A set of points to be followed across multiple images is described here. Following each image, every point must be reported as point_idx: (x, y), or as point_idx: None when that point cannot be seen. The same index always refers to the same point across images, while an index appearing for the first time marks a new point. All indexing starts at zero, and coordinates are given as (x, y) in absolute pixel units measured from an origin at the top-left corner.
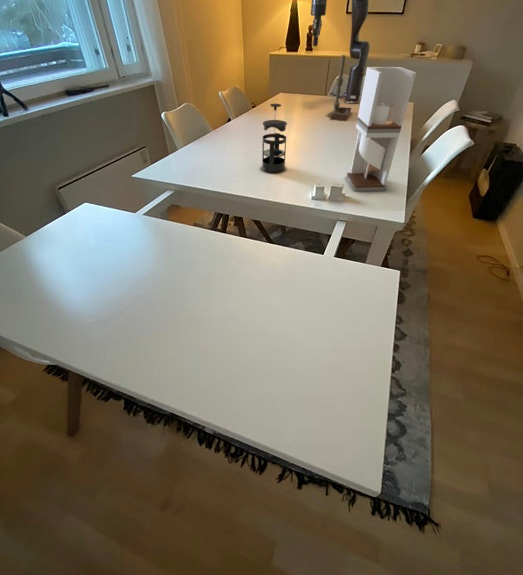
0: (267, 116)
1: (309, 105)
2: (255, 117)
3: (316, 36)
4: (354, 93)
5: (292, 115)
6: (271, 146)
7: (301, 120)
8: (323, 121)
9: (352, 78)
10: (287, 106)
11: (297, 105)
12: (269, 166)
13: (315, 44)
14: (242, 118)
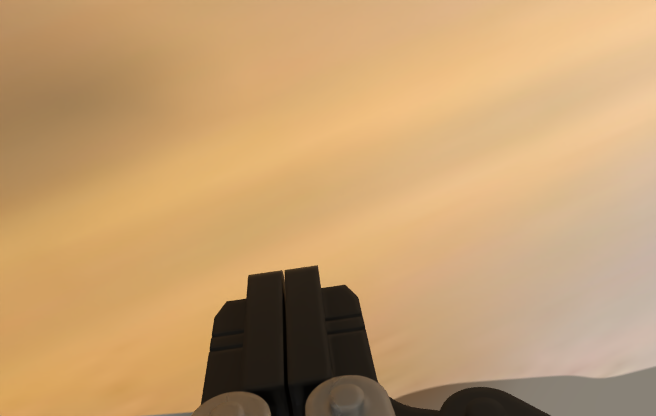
0: (491, 265)
1: (17, 141)
2: (540, 312)
3: (421, 411)
4: None
5: (399, 135)
6: None
7: (513, 17)
8: None
9: None
10: (162, 272)
11: (84, 224)
12: None
13: (352, 301)
14: (584, 357)
